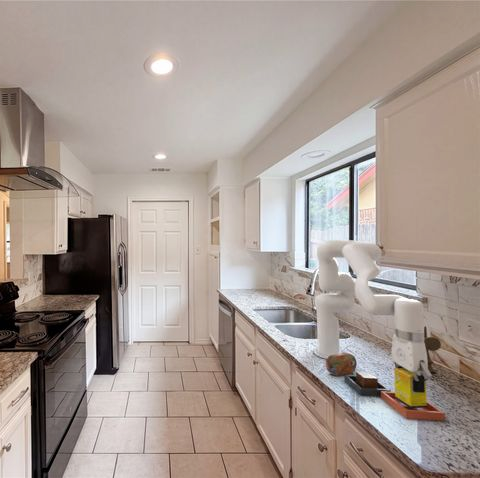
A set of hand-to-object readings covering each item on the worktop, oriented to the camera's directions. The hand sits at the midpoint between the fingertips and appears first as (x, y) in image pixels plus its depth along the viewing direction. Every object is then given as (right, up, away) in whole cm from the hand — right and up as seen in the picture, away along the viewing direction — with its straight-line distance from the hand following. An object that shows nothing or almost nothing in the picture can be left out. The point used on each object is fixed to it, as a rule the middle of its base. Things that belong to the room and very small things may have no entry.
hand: (410, 385), depth 93 cm
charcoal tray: (-6, -8, +13) cm, 16 cm away
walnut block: (-6, -8, +12) cm, 16 cm away
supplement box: (0, -6, 0) cm, 6 cm away
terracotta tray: (0, -8, 0) cm, 8 cm away
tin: (-7, -8, +25) cm, 27 cm away
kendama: (+32, -8, +26) cm, 42 cm away
